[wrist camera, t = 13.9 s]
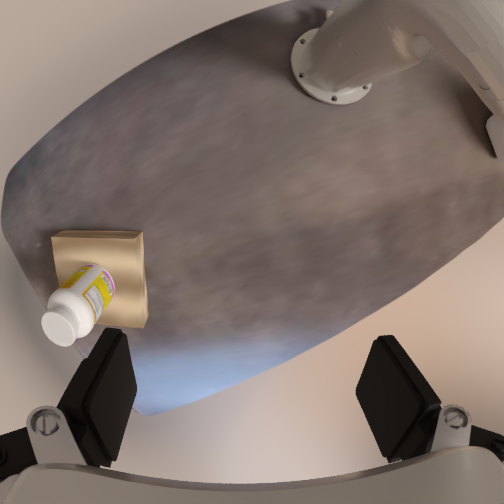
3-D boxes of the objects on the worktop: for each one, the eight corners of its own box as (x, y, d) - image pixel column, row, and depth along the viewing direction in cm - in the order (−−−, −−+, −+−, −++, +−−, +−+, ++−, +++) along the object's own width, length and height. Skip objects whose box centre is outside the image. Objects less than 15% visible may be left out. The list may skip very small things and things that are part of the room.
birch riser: (63, 230, 40) (51, 237, 36) (142, 231, 41) (134, 238, 37) (75, 308, 44) (66, 319, 41) (149, 315, 46) (143, 328, 42)
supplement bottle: (72, 289, 39) (31, 333, 27) (84, 253, 37) (38, 292, 25) (108, 310, 41) (75, 362, 28) (122, 276, 39) (87, 324, 27)
